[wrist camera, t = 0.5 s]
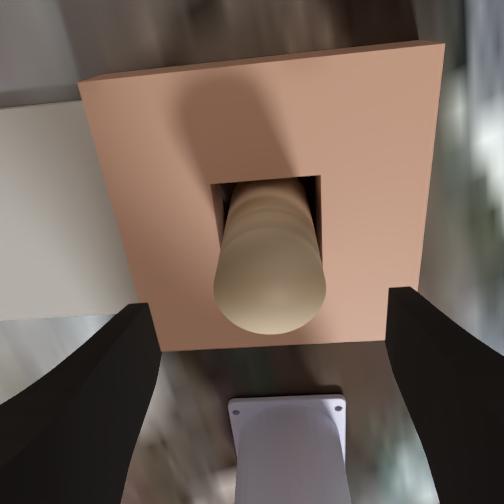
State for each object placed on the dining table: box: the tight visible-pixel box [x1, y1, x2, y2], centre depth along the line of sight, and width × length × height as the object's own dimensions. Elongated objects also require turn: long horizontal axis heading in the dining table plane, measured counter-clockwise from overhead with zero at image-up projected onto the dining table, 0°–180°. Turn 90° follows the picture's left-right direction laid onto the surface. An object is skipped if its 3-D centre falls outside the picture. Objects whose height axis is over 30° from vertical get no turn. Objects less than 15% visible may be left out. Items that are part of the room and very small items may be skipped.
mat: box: [0, 100, 139, 321], centre depth 23 cm, size 12×12×1 cm
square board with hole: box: [77, 40, 445, 352], centre depth 20 cm, size 14×14×3 cm
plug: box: [213, 177, 326, 334], centre depth 18 cm, size 4×4×8 cm
